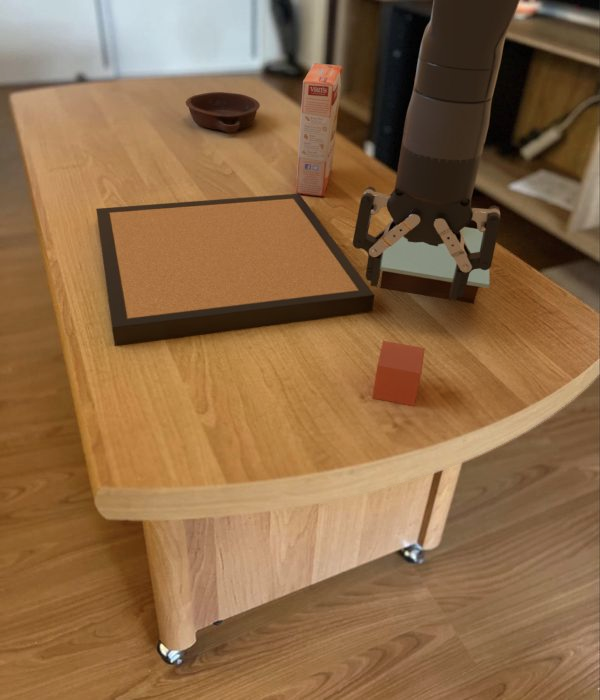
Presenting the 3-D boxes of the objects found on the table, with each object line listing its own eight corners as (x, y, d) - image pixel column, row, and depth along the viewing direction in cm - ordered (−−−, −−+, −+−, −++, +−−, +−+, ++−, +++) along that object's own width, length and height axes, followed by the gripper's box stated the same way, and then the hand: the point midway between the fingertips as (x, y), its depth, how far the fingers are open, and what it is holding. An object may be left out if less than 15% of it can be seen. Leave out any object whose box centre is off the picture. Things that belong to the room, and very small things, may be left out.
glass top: (488, 234, 93) (494, 211, 91) (488, 288, 80) (495, 263, 78) (391, 219, 95) (395, 197, 93) (376, 269, 83) (380, 245, 80)
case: (475, 254, 106) (486, 209, 101) (474, 303, 93) (486, 255, 88) (392, 240, 108) (399, 196, 103) (380, 287, 95) (387, 239, 90)
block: (417, 380, 78) (424, 348, 75) (414, 406, 74) (421, 373, 71) (377, 372, 79) (383, 340, 76) (371, 398, 75) (377, 365, 72)
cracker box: (325, 198, 120) (335, 83, 108) (294, 194, 121) (300, 79, 108) (334, 171, 132) (343, 64, 119) (305, 168, 132) (312, 61, 120)
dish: (190, 139, 142) (189, 116, 139) (183, 109, 159) (182, 89, 156) (267, 137, 146) (267, 115, 143) (251, 109, 163) (251, 88, 160)
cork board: (372, 311, 90) (298, 207, 116) (374, 294, 88) (299, 193, 115) (114, 345, 80) (98, 224, 107) (112, 327, 78) (96, 208, 105)
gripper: (361, 144, 57) (343, 296, 67) (522, 167, 55) (479, 320, 65) (373, 120, 63) (355, 263, 73) (519, 140, 61) (480, 284, 71)
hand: (413, 290), depth 69 cm, fingers open, 8 cm apart
